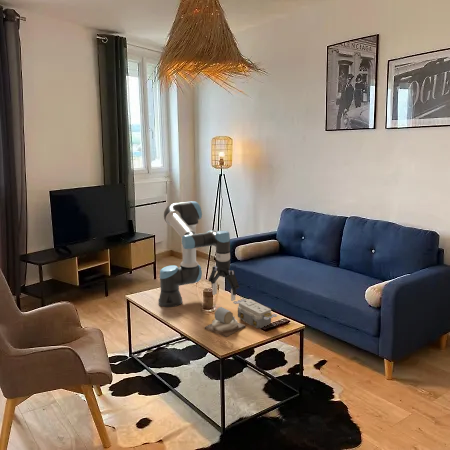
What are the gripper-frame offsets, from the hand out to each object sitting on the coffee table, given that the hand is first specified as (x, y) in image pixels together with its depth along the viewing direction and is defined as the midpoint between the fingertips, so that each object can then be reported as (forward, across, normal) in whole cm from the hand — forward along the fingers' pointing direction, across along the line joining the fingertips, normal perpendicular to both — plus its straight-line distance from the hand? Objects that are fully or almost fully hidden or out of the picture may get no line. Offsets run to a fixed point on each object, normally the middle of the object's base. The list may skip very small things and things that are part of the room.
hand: (223, 297), depth 245 cm
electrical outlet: (+18, +8, +16) cm, 26 cm away
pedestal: (+18, +1, 0) cm, 18 cm away
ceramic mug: (+14, 0, +1) cm, 14 cm away
